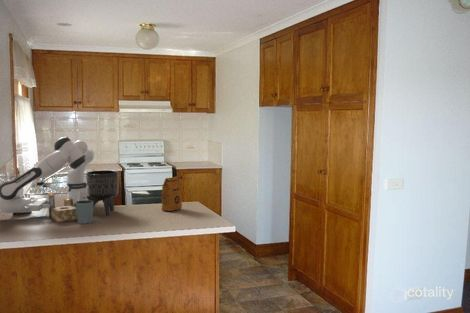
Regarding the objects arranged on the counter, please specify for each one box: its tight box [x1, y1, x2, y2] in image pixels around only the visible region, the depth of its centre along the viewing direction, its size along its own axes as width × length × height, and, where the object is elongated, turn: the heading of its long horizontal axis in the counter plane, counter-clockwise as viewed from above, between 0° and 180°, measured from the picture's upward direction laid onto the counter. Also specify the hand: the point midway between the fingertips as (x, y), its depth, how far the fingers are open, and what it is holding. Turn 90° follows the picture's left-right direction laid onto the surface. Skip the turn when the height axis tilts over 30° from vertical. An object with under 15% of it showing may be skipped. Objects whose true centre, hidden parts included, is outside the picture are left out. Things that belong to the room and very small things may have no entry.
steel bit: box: [47, 193, 56, 219], centre depth 261 cm, size 4×4×14 cm
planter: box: [85, 169, 120, 217], centre depth 271 cm, size 20×20×26 cm
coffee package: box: [161, 176, 183, 212], centre depth 282 cm, size 10×12×22 cm
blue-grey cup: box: [74, 200, 94, 224], centre depth 250 cm, size 10×10×12 cm
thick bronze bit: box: [63, 198, 75, 207], centre depth 267 cm, size 6×6×10 cm
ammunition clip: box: [12, 194, 33, 216], centre depth 269 cm, size 11×2×12 cm, turn 130°
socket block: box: [51, 205, 77, 224], centre depth 255 cm, size 11×11×7 cm
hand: (52, 204), depth 261 cm, fingers open, 8 cm apart
